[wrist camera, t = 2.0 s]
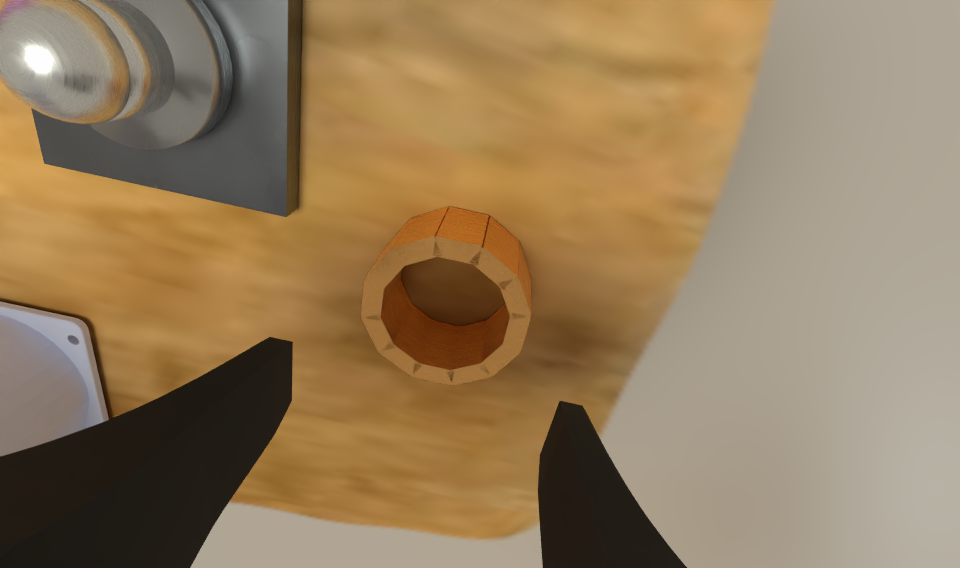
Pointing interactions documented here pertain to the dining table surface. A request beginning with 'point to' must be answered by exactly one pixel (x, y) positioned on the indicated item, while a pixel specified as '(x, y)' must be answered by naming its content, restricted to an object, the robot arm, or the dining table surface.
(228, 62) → the stand
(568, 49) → the dining table surface
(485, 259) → the wooden ring
